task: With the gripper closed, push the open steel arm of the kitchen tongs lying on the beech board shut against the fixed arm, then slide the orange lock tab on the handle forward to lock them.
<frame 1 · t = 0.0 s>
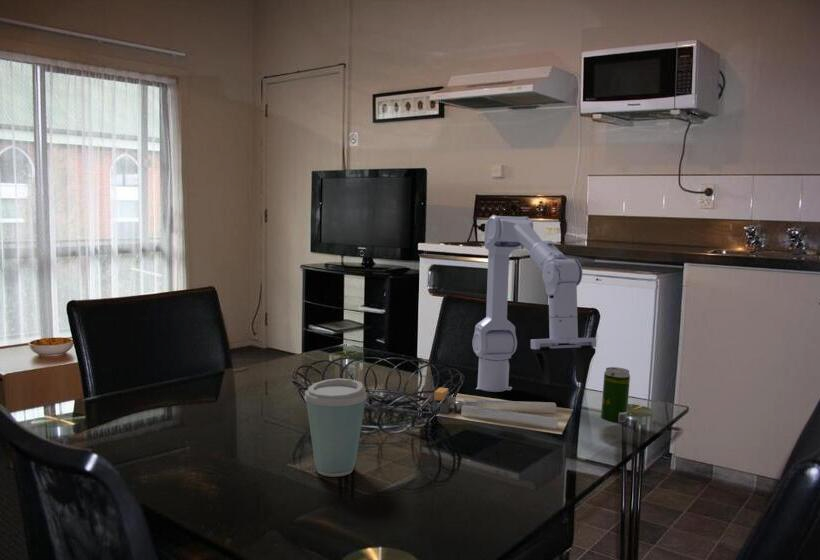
hand: (564, 383, 146), 11 cm above the table, tool pointing down, fingers open, 7 cm apart
disposable coffee cup: (333, 471, 122), on the table
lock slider: (441, 394, 156), point 5 cm above the table, slide at 0.0 cm
board: (503, 417, 157), on the table
beer can: (613, 424, 156), on the table
tongs frame: (458, 412, 155), resting on board
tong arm: (505, 407, 156), point 2 cm above the table, hinge at 22.0°
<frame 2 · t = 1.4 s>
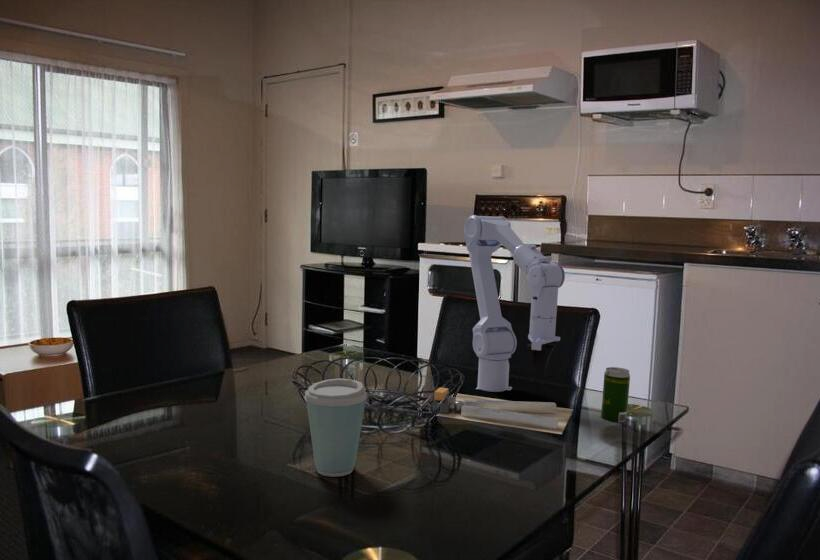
hand: (539, 375, 161), 8 cm above the table, tool pointing down, fingers closed
nothing on the table moved.
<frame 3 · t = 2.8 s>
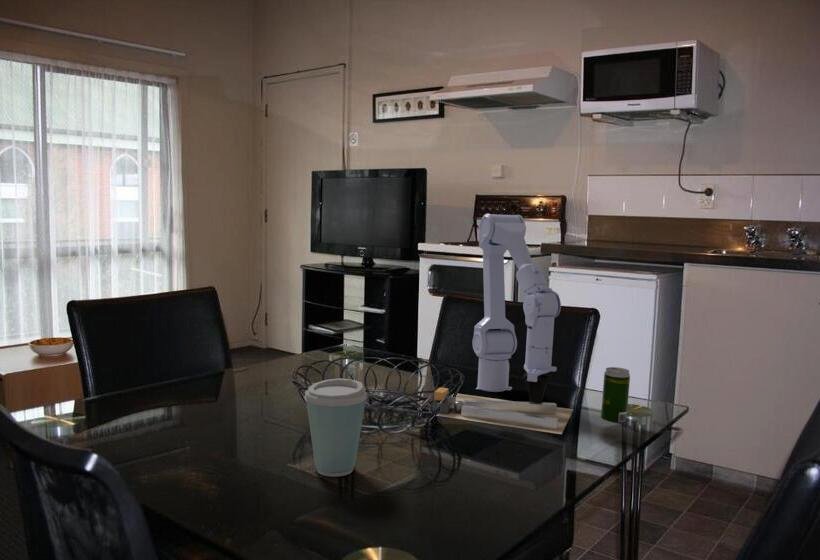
hand: (535, 406, 158), 2 cm above the table, tool pointing down, fingers closed
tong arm: (505, 407, 155), point 2 cm above the table, hinge at 20.9°, touching gripper
everything else where it was.
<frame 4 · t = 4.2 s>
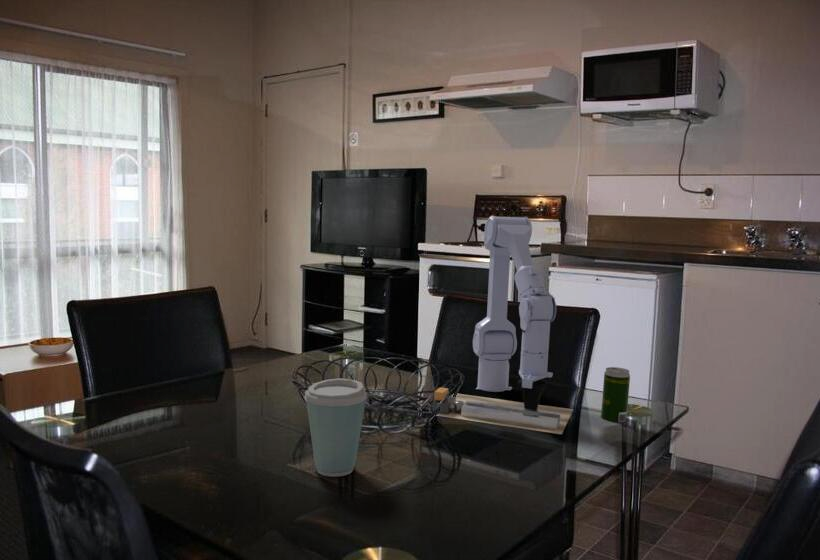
hand: (530, 413, 153), 2 cm above the table, tool pointing down, fingers closed
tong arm: (506, 412, 152), point 2 cm above the table, hinge at 1.4°, touching gripper
everything else where it was.
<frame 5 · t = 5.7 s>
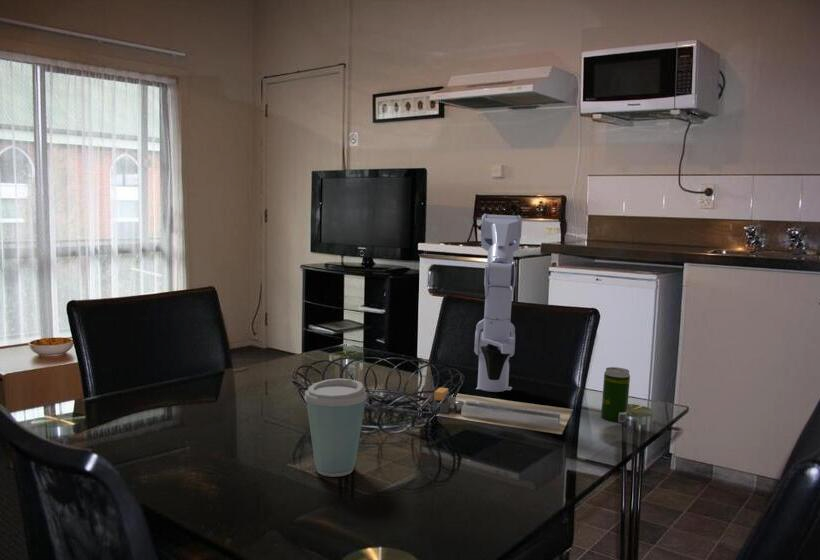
hand: (493, 379, 156), 8 cm above the table, tool pointing down, fingers closed
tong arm: (506, 412, 152), point 2 cm above the table, hinge at 1.4°
everything else where it was.
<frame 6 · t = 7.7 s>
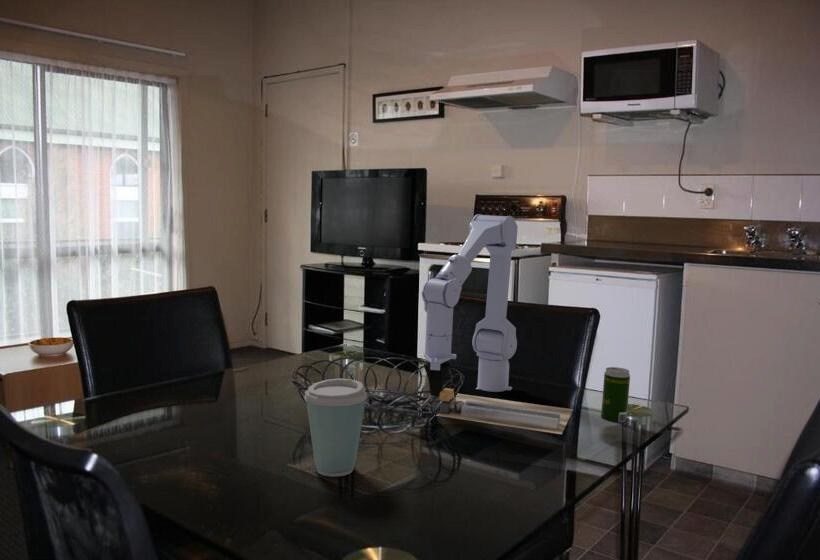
hand: (435, 395, 156), 4 cm above the table, tool pointing down, fingers closed
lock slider: (446, 394, 155), point 5 cm above the table, slide at 1.2 cm, touching gripper
everything else where it was.
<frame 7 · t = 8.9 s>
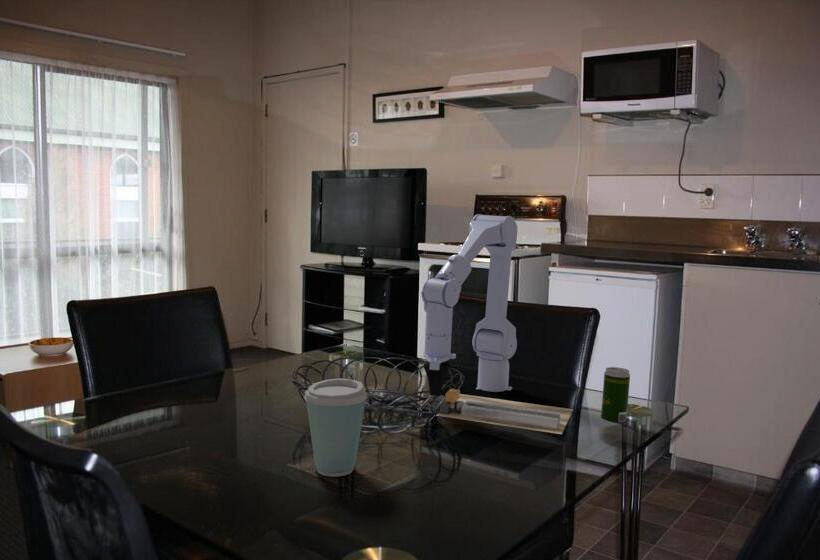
hand: (435, 394, 156), 4 cm above the table, tool pointing down, fingers closed
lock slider: (452, 395, 155), point 5 cm above the table, slide at 2.6 cm
everything else where it was.
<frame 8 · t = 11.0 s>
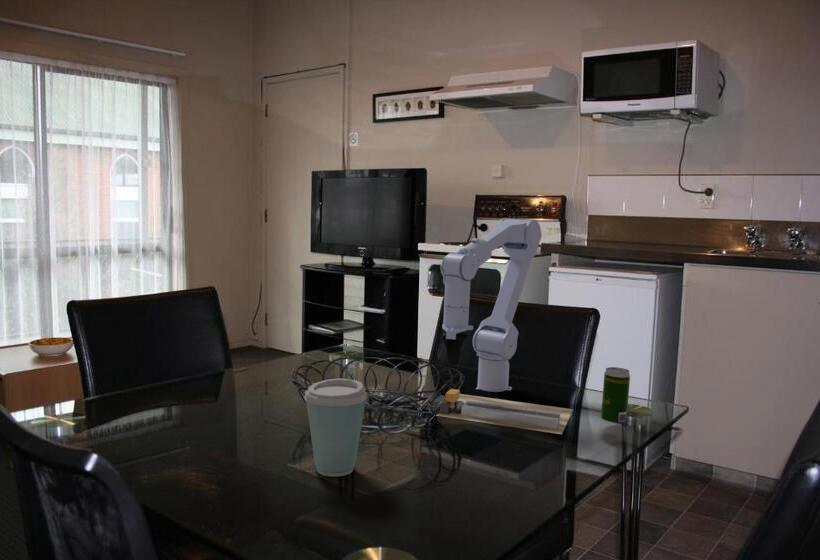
hand: (453, 364, 164), 9 cm above the table, tool pointing down, fingers closed
nothing on the table moved.
at the end: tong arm at +1° (first picture: +22°); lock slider slide at 2.6 cm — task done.
